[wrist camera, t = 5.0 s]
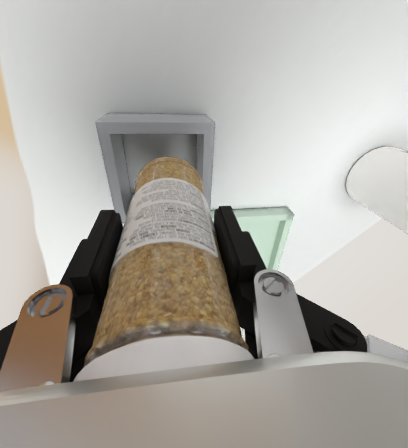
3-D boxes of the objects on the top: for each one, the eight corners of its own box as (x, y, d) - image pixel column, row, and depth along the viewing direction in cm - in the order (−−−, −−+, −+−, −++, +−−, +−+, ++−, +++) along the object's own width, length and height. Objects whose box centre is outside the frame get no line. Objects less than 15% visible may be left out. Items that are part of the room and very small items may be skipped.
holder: (108, 113, 19) (95, 121, 16) (205, 114, 21) (214, 122, 17) (124, 201, 24) (117, 223, 20) (203, 197, 25) (209, 218, 22)
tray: (156, 213, 26) (156, 221, 24) (287, 206, 28) (294, 214, 26) (163, 284, 32) (163, 294, 31) (268, 274, 34) (273, 283, 33)
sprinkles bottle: (187, 222, 17) (221, 499, 6) (127, 204, 15) (27, 531, 5) (213, 168, 15) (339, 454, 4) (146, 141, 13) (41, 486, 2)
